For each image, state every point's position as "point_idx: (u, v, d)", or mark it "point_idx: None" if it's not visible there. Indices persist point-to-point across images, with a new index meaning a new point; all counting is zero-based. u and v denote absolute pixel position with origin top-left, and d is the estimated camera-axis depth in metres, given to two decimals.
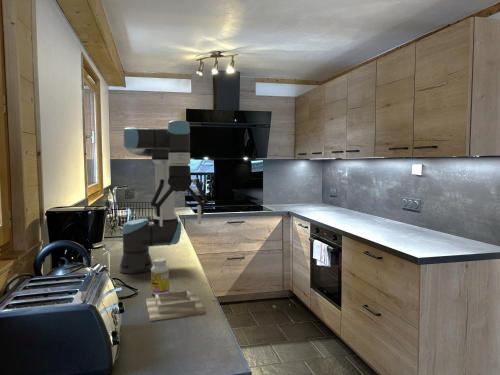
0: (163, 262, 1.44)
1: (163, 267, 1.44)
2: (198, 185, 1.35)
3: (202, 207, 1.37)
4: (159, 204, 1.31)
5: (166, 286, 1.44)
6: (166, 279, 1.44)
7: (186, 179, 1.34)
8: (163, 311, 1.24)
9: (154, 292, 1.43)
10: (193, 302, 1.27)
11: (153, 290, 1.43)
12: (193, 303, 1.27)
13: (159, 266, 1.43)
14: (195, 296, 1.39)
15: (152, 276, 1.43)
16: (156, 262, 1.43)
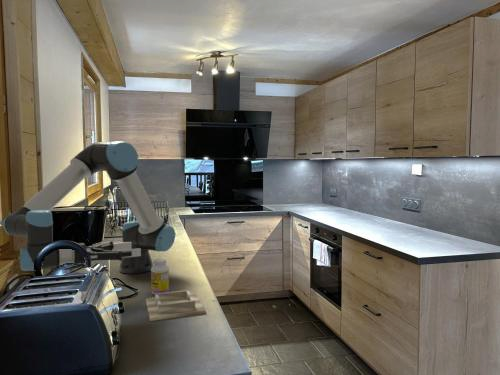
0: (163, 262, 1.44)
1: (163, 267, 1.44)
2: None
3: None
4: (110, 250, 1.43)
5: (166, 286, 1.44)
6: (166, 279, 1.44)
7: None
8: (163, 311, 1.24)
9: (154, 292, 1.43)
10: (193, 302, 1.27)
11: (153, 290, 1.43)
12: (193, 303, 1.27)
13: (159, 266, 1.43)
14: (195, 296, 1.39)
15: (152, 276, 1.43)
16: (156, 262, 1.43)
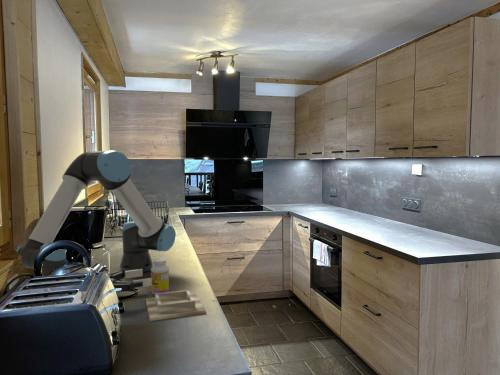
0: (163, 262, 1.44)
1: (163, 267, 1.44)
2: None
3: None
4: None
5: (166, 286, 1.44)
6: (166, 279, 1.44)
7: None
8: (163, 311, 1.24)
9: (154, 292, 1.43)
10: (193, 302, 1.27)
11: (153, 290, 1.43)
12: (193, 303, 1.27)
13: (159, 266, 1.43)
14: (195, 296, 1.39)
15: (152, 276, 1.43)
16: (156, 262, 1.43)
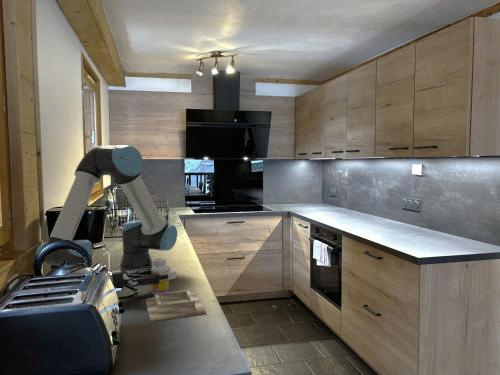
0: (163, 262, 1.44)
1: (163, 267, 1.44)
2: None
3: None
4: None
5: (166, 286, 1.44)
6: None
7: None
8: (163, 311, 1.24)
9: (154, 292, 1.43)
10: (193, 302, 1.27)
11: (153, 290, 1.43)
12: (193, 303, 1.27)
13: (159, 266, 1.43)
14: (195, 296, 1.39)
15: None
16: (156, 262, 1.43)
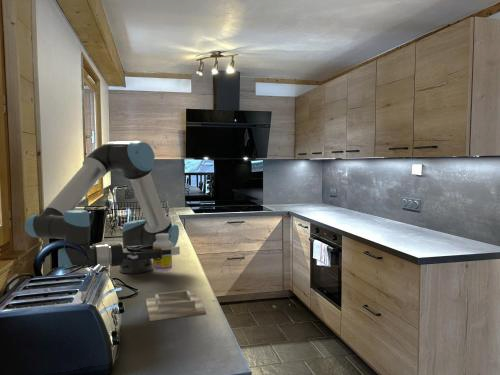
0: (166, 236, 1.34)
1: (166, 242, 1.34)
2: None
3: None
4: None
5: (169, 262, 1.34)
6: (169, 255, 1.34)
7: None
8: (163, 311, 1.24)
9: (156, 268, 1.33)
10: (193, 302, 1.27)
11: (155, 266, 1.34)
12: (193, 303, 1.27)
13: (162, 240, 1.34)
14: (195, 296, 1.39)
15: None
16: (158, 236, 1.34)
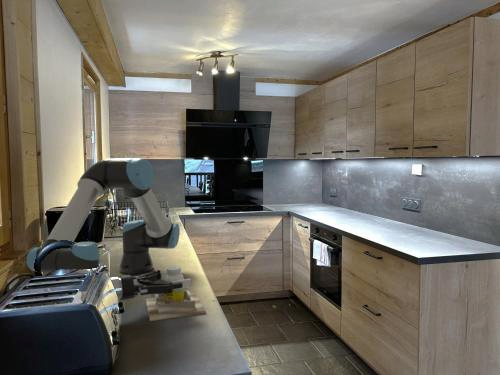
0: (178, 270, 1.29)
1: (178, 276, 1.29)
2: None
3: None
4: None
5: (181, 297, 1.29)
6: (181, 289, 1.29)
7: None
8: (163, 311, 1.24)
9: None
10: (193, 302, 1.27)
11: (167, 302, 1.28)
12: (193, 303, 1.27)
13: (174, 275, 1.28)
14: (195, 296, 1.39)
15: None
16: (170, 270, 1.28)
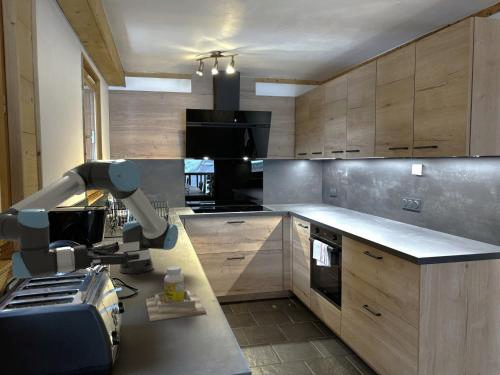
0: (178, 270, 1.29)
1: (178, 276, 1.29)
2: None
3: None
4: (115, 251, 1.27)
5: (181, 297, 1.29)
6: (181, 289, 1.29)
7: None
8: (163, 311, 1.24)
9: None
10: (193, 302, 1.27)
11: (167, 302, 1.28)
12: (193, 303, 1.27)
13: (174, 275, 1.28)
14: (195, 296, 1.39)
15: (166, 286, 1.28)
16: (170, 270, 1.28)
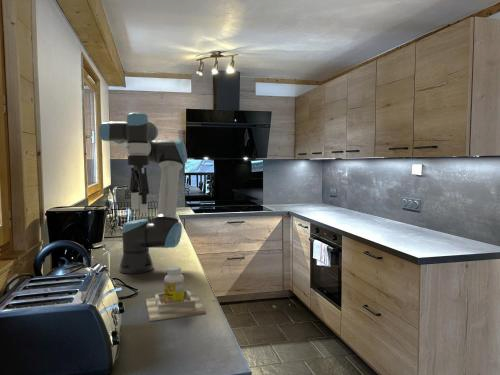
0: (178, 271, 1.29)
1: (178, 276, 1.29)
2: (139, 174, 1.37)
3: (142, 197, 1.36)
4: (131, 189, 1.49)
5: (181, 297, 1.29)
6: (181, 289, 1.29)
7: (136, 168, 1.40)
8: (163, 311, 1.24)
9: None
10: (193, 302, 1.27)
11: (167, 302, 1.28)
12: (193, 303, 1.27)
13: (174, 275, 1.28)
14: (195, 296, 1.39)
15: (166, 286, 1.28)
16: (170, 271, 1.28)
